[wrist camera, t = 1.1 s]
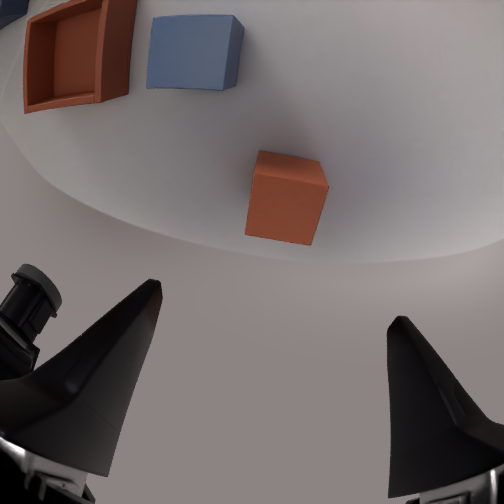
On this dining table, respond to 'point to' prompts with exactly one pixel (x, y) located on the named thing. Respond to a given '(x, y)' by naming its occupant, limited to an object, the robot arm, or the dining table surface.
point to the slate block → (194, 52)
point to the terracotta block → (286, 198)
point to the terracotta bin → (78, 54)
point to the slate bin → (12, 11)
